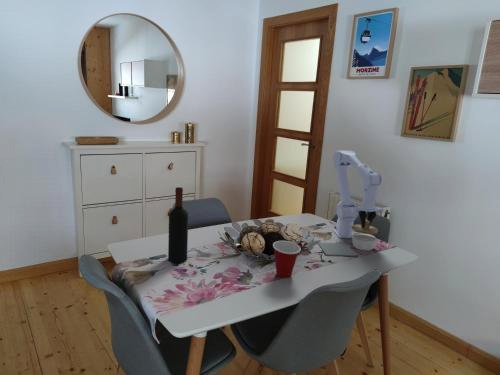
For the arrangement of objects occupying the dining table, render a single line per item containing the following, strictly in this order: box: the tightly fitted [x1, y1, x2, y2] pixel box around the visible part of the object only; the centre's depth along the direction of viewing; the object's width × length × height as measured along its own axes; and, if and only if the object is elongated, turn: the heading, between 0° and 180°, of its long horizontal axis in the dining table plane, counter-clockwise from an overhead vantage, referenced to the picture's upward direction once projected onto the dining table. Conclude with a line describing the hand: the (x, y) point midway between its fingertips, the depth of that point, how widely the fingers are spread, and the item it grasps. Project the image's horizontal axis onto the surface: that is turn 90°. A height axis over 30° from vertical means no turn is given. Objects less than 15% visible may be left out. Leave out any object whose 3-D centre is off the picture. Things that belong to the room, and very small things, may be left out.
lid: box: [352, 218, 379, 235], centre depth 178 cm, size 12×12×5 cm
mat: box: [317, 242, 357, 257], centre depth 175 cm, size 14×14×1 cm
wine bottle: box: [167, 186, 189, 264], centre depth 150 cm, size 8×8×30 cm
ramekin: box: [351, 232, 377, 252], centre depth 180 cm, size 11×11×5 cm
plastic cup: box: [272, 240, 302, 279], centre depth 145 cm, size 11×11×12 cm
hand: (365, 226), depth 178 cm, fingers closed on lid
